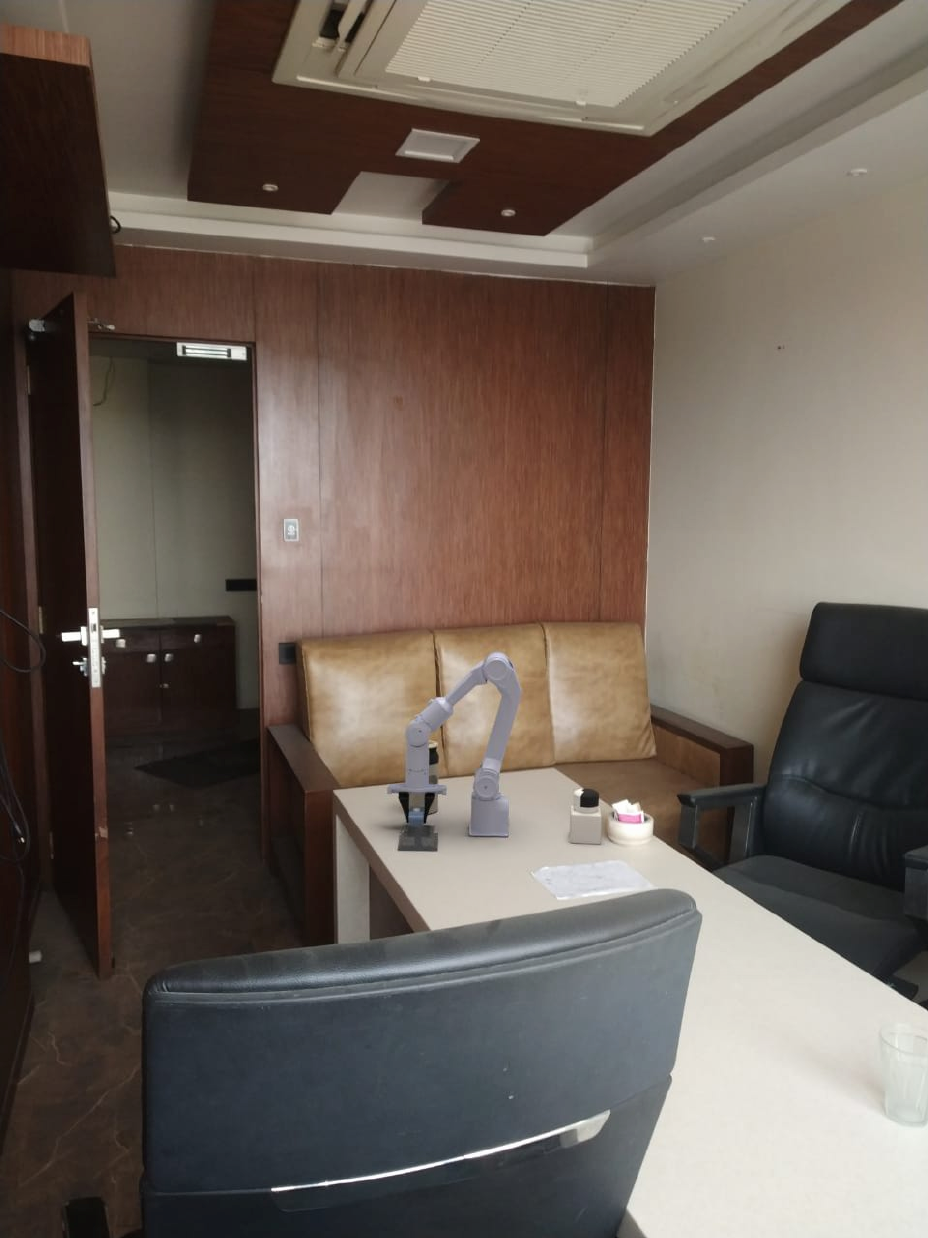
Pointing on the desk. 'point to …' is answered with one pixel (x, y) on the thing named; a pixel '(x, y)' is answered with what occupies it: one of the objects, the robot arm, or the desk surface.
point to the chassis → (418, 838)
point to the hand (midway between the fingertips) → (416, 822)
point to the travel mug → (433, 779)
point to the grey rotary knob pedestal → (585, 817)
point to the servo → (416, 815)
